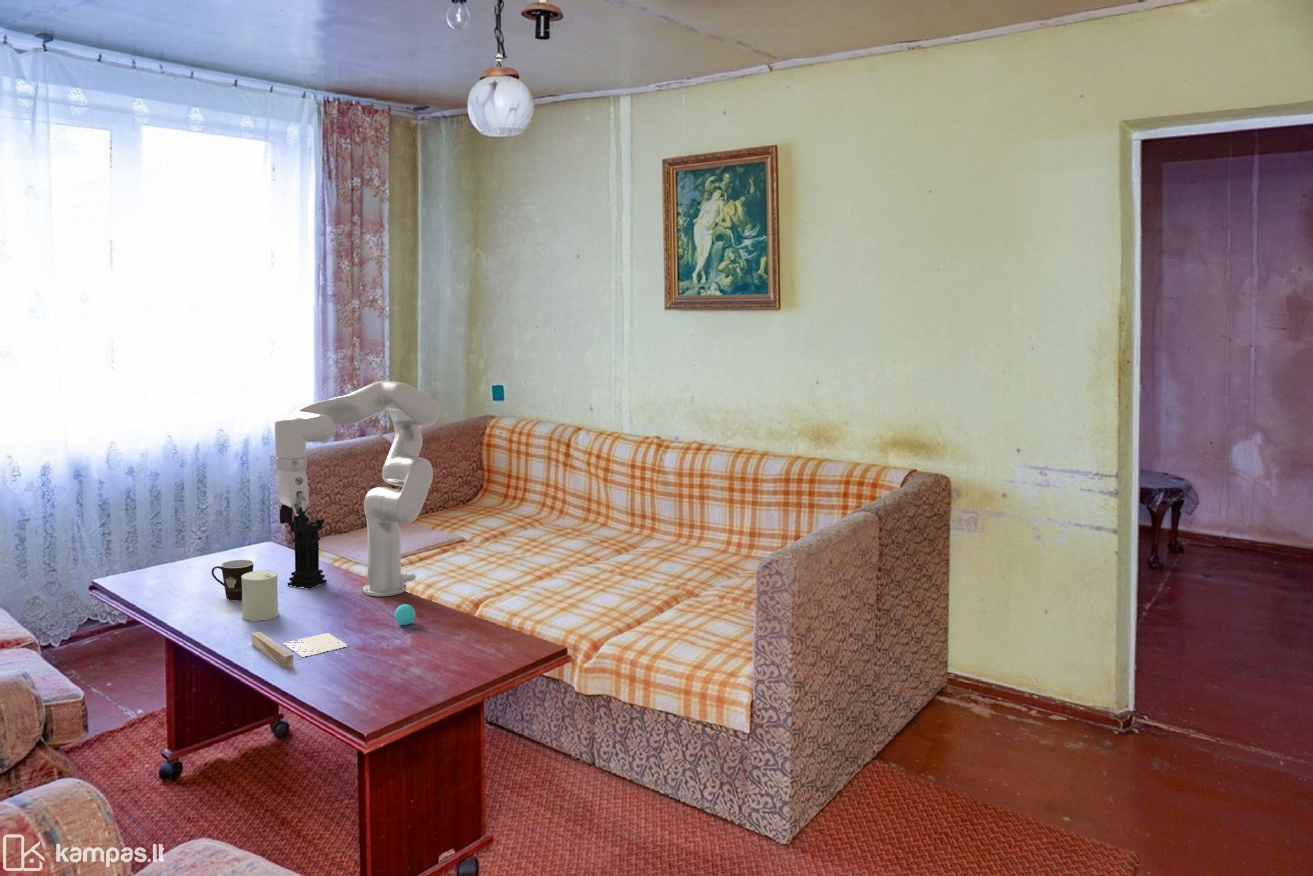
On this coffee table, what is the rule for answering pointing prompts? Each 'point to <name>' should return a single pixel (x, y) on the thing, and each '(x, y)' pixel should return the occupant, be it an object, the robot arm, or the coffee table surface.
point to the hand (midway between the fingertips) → (293, 526)
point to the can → (259, 595)
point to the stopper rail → (272, 650)
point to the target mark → (315, 644)
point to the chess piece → (307, 556)
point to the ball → (404, 614)
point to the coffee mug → (234, 577)
